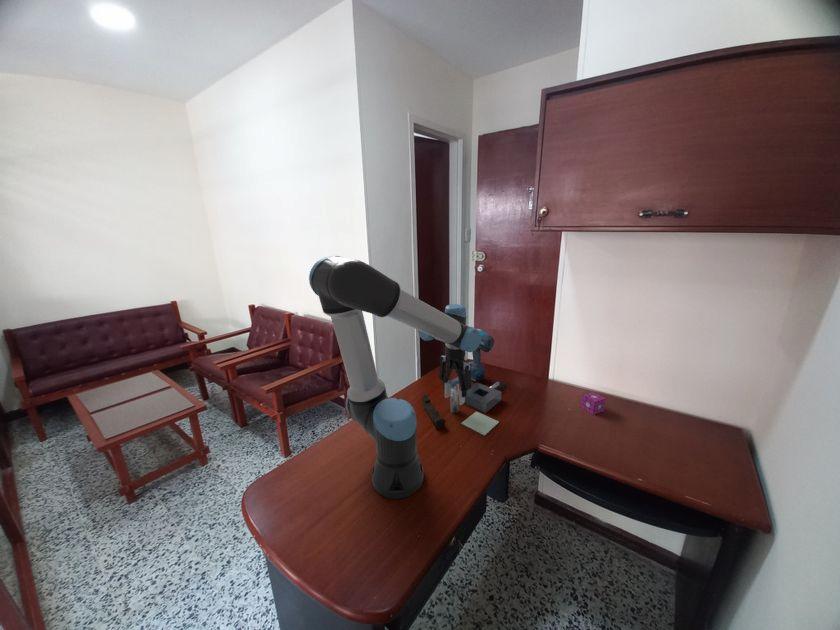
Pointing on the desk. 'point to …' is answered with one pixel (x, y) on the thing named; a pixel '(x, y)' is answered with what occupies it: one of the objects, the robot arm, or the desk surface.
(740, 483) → the desk surface
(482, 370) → the impact wrench
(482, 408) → the block
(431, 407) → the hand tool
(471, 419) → the mat
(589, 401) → the puzzle toy
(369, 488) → the desk surface
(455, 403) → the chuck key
